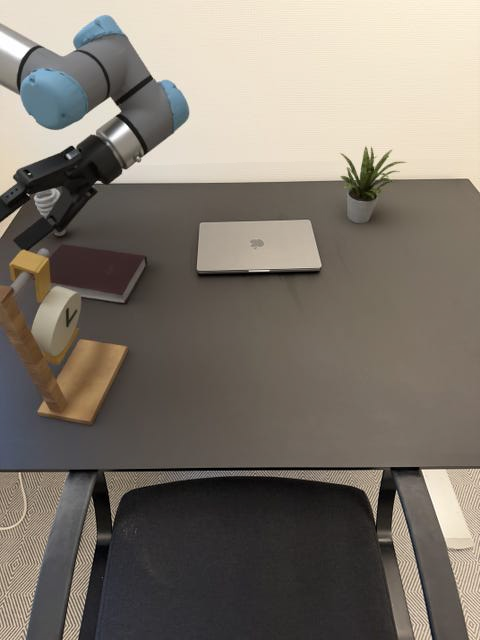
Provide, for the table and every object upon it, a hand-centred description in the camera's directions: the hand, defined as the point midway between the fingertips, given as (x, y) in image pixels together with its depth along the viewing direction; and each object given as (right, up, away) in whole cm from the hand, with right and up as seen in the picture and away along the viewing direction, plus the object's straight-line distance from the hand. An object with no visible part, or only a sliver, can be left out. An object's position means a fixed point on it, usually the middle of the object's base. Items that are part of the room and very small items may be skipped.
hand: (4, 234), depth 73 cm
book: (+7, -5, +24) cm, 25 cm away
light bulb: (-4, +6, +35) cm, 35 cm away
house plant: (+66, +10, +37) cm, 76 cm away
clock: (+6, -17, +1) cm, 18 cm away
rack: (+11, -24, +6) cm, 27 cm away
